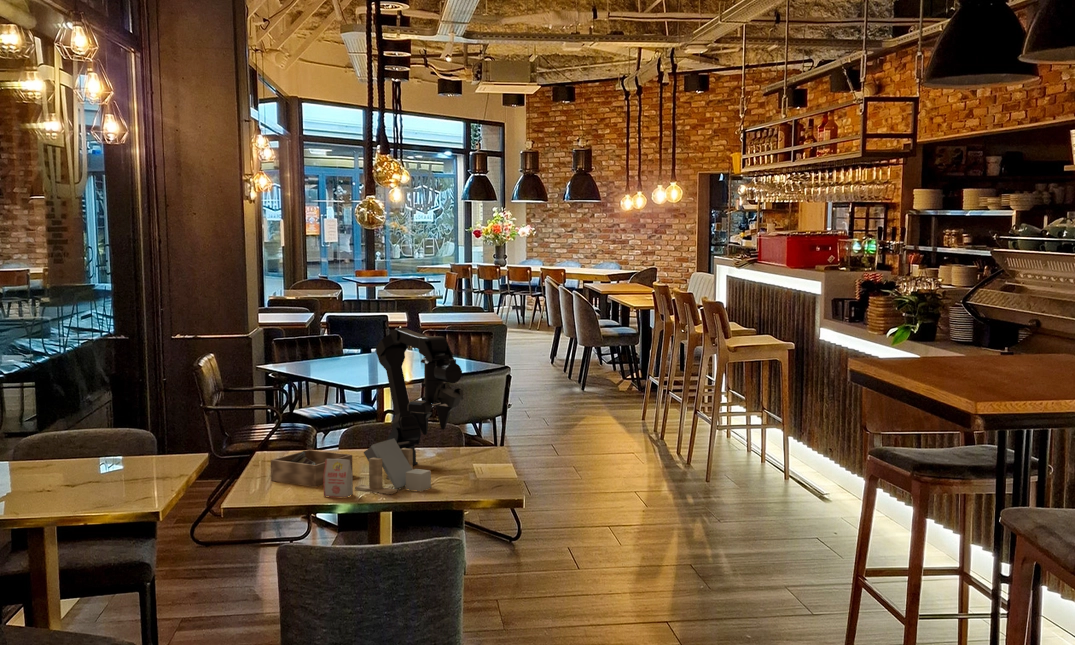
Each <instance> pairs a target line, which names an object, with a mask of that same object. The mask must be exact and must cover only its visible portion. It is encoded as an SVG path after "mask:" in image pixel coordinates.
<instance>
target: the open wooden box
mask: <svg viewBox="0 0 1075 645" xmlns="http://www.w3.org/2000/svg"><path fill="white" fill-rule="evenodd" d="M303 451H304V450H303ZM303 451H299V452H295V453H292V454H288V455H284V456H280V457H278V458H273V459H270V481H271V482H278V483H285V484H292V485H299V486H305V487H306V486H308V487H314V488H316V487H320V486H323V474H324V468H325V460H326V459H344V460H350V465H351V469H352V476H353V469H354V468H353V454H348V453H342V452H341V453H339V452H332V451H331V452H330V451H322V450H314V449H306V450H305V456H306V458H307V459H309V460H311V461H313V462H315V464H316V465H311V464H303V463H295V462H290V461H291V460H293V459H294V458H295V457H296V456H298V455H299V454H300V453H301V452H303Z"/></svg>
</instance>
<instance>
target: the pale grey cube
mask: <svg viewBox="0 0 1075 645" xmlns="http://www.w3.org/2000/svg"><path fill="white" fill-rule="evenodd" d="M429 488H430V489H432V472H431V470H429V469H420V468H413V470H411V471H408V472H406V486H405V490H406V489H409V490H408V491H410V490H417V491H422V492H424V491H423V490H425V491H427V490H429ZM426 489H427V490H426ZM417 491H416V492H417Z"/></svg>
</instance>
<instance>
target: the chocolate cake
mask: <svg viewBox="0 0 1075 645" xmlns="http://www.w3.org/2000/svg"><path fill="white" fill-rule="evenodd" d="M305 451H306V450H303V452H302V451H300V452H301V453H300V454H299V455H298V456H296V457H295V458H294V459H293V460H291V461H290V462H295V463H303V464H311V465H316V464H315V462H313V461H311V460H309V459H307V458H306V456H305Z"/></svg>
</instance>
